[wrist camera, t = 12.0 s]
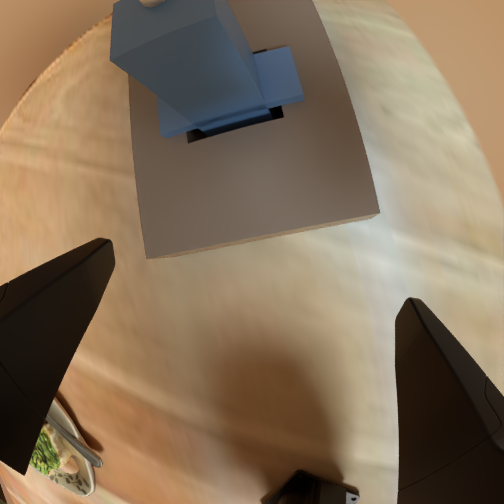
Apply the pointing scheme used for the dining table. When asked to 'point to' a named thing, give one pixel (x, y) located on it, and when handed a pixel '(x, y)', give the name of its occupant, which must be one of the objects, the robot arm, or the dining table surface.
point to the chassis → (256, 152)
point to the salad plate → (64, 453)
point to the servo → (200, 65)
